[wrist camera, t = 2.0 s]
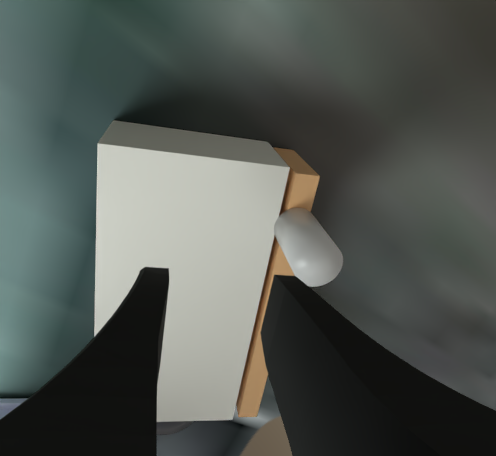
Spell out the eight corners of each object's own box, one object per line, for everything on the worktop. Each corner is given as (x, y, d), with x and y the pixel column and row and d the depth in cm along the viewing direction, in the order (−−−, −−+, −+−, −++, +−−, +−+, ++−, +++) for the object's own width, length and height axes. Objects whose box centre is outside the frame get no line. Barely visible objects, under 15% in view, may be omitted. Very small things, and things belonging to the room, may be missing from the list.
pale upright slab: (221, 375, 25) (229, 432, 21) (104, 375, 23) (92, 437, 20) (267, 141, 19) (289, 167, 15) (113, 120, 17) (97, 143, 14)
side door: (251, 362, 25) (276, 471, 19) (222, 362, 24) (239, 473, 18) (301, 151, 19) (361, 207, 13) (265, 146, 19) (309, 201, 13)
